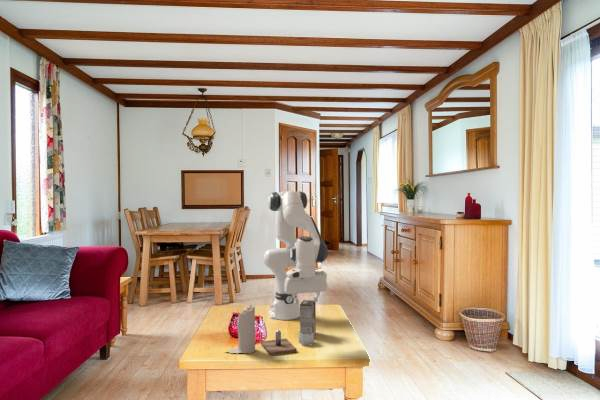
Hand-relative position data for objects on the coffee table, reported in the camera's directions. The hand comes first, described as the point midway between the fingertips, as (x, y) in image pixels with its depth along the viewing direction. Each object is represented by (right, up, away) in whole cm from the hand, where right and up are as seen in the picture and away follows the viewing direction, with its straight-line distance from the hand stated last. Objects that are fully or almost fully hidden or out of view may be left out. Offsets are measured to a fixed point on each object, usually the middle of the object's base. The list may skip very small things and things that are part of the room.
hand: (306, 302), depth 194 cm
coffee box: (+1, -19, +12) cm, 23 cm away
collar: (0, -19, 0) cm, 19 cm away
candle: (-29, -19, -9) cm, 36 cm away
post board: (-12, -19, -7) cm, 24 cm away
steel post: (-12, -18, -7) cm, 22 cm away
